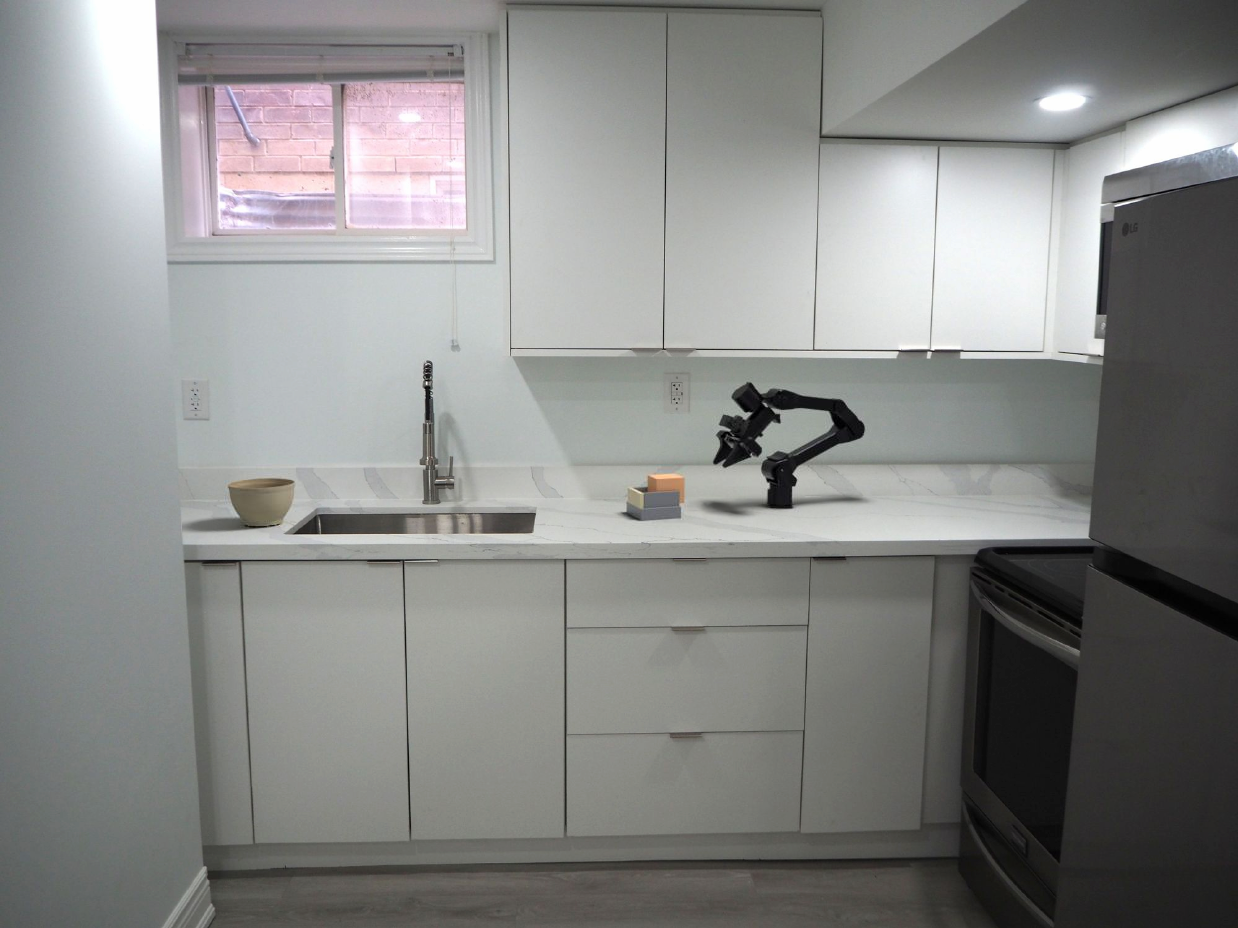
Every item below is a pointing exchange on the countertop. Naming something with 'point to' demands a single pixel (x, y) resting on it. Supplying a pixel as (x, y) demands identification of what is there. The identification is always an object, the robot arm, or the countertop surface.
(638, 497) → the open gray box
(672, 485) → the orange block
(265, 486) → the planter bowl
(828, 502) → the countertop surface
